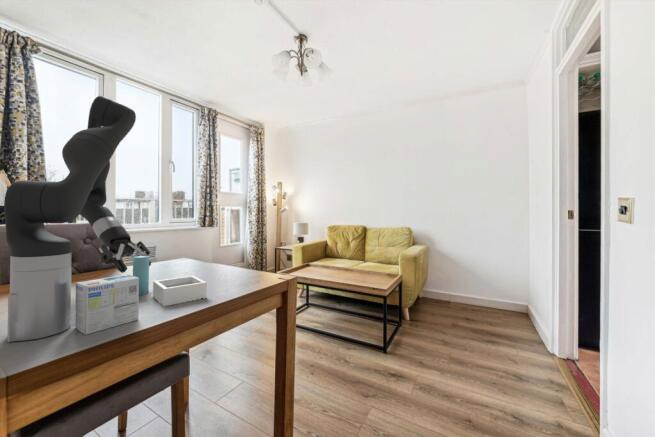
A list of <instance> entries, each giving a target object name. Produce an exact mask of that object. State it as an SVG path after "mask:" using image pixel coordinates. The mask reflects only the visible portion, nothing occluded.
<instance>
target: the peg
mask: <svg viewBox="0 0 655 437" xmlns="http://www.w3.org/2000/svg"><path fill="white" fill-rule="evenodd" d="M149 260H150V256H149V255H148V256H142V255H140V256H137V257H132V276H134V277H138V278H139V296H140V295H141V296H143V295H146V293H147V294H149V288H150V286H149V284H150V266H149Z"/></svg>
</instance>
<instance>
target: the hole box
mask: <svg viewBox="0 0 655 437" xmlns="http://www.w3.org/2000/svg"><path fill="white" fill-rule="evenodd" d="M152 284H153V286H152V289H153V290H152V297H153V298H154V299H155V300H156V301H157V302H158V303H160V305H161V306H163V307H168V306H173V305H177V304H182V302H183V303H187V301H188V302H193V301H198V300H202V299H201V298H203V299H207V292H208V291H207V290H208V289H207V286H208V285H207V284H208V282H207V281H205V280H203V279H201V278H198V277H197V276H195V275H190V276H181V277H173V278H167V279H159V280H153V282H152ZM197 299H198V300H197ZM192 300H193V301H192Z"/></svg>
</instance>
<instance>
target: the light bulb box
mask: <svg viewBox="0 0 655 437" xmlns="http://www.w3.org/2000/svg"><path fill="white" fill-rule="evenodd" d="M139 298H140V295H139V278H138V277H134V276H133V275H130V274H124V275H122V274H121V275H117V276H116V275H115V276H110V277H103V278H98V279H92V280H91V279H90V280H87V281H86V280H85V281H77V282H75V329H76V330H78V331H79V332H81V333H82V334H83V335H85V336H86V335H89V334H93V333H95V332H100V331H103V330H107V329H111V328H114V327H117V326H120V325H124V324H128V323H131V322H134V321H138V320H139V316H140V315H139V313H140V312H139V304H140V303H139V302H140V301H139V300H140V299H139Z"/></svg>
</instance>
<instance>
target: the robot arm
mask: <svg viewBox="0 0 655 437" xmlns="http://www.w3.org/2000/svg"><path fill="white" fill-rule="evenodd" d="M136 119H137V115H136V112H135V111H134V109H132V108H131V107H129V106H128V105H125V104H123V103H120V102H118V101H116V100H113V99H112V98H110V97H106V96H104V95H98V96H96V97H95V98H94V99H93V101H92V102H91V105H90V108H89V113H88V121H87V128H85V129H82V130H80V131H77V132H76V133H74V134H73V135H72V137H70V139H68V140H67V142H66V143H65V145H63V147H62V152H61V155H62V159H63V161H64V164H65V165H66V167H67V169H68V172H69V173H68V174H67V176H66V177H65V178H64V179H62V180H60V181H50V180H49V181H46V180H25V179H24V180H16V181H14V182H12V183H11V184H10V185H9V186H8V187H7V189H6V191H5V194H4V202H3V203H4V204H3V205H4V206H3V207H4V222H5V238H6V242H7V245H8V247H9V250H10V252H9V253H10V254H9V255H10V259H9V261H10V262H9V263H10V264H9V266H10V267H9V294H8V297H7V343H11V342H21V341H31V340H37V339H42V338H46V337H50V336H53V335H57V334H59V333H62V332H64V331H66V330H68V329H69V328H70V327H71V321H72V320H71V319H72V316H71V315H72V314H71V310H72V305H71V304H72V254H73V253H72V251H73V244H72V241H71V240H69V239H67V238H64V237H60V236H58V235H55V234H53V233H51V232H50V231H48V230H47V229H46V228H45V224H68V223H70V222H73V221H75V220H76V219H77V218H78V217H79V216H81V217H82V218H83V219H85V220H86V221H87V222H88V224H89V226H91V228H92V229H93V231H94V233H95V235H96V237H97V238H98V240H99V241H100V242H101V244H102V245H101V246H100V247H99V248H98V250H97V252H98V254H99V255H100V257H101V259H102V261H103V262H104V264H106V265H110V264H112V266H113V265H114V266H115V268H116V270H117V271H118V272H120V273H121V274H122V273H123V274H124V273H126V271H127V270H128V267H127V266H126V264H125V262H124V261H123V259H121V258H124V257H131V258H133V257H137V256H149V255H150V254H151V251H150V250H149V249H148V248H147V247H146V245H145V244H144V243H143V242H142V240H141V241H140V240H139V241H138V242H137V243H134V242H133V241H132V240H131V239H132V238H131V235H130V234H129V233H128V231H127V229H125V227H124V226H123V225H122V223H121V222H120V221H119V220H118V219H117V218H116V216H115V215H114V214H113V212H112V211H111V210H110V208H108V207H106V206H104V205H105V204H106V202H107V186H106V182H107V178H108V175H109V172H110V168H111V162H110V160H111V158H112V157H113V155H114V153H115V151H116V150H117V148H118V146H119V145H120V143H121V142H122V141H123V140H124V139H125V138H126V137H127V135H128V134H129V133H130V132H131V130H132V129H133V127H134V126H135V124H136ZM112 254H113V255H112ZM151 265H152V261H151V260H150V259H149V267H150V266H151Z"/></svg>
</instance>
